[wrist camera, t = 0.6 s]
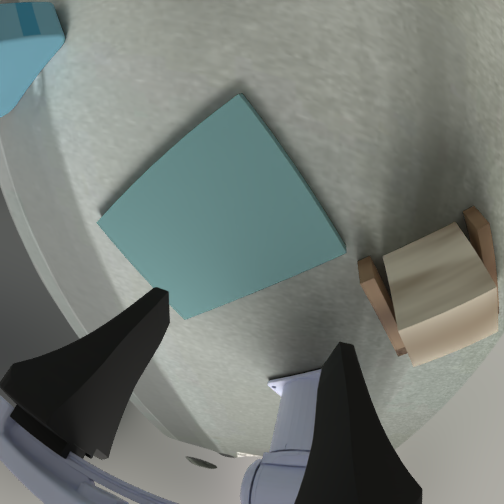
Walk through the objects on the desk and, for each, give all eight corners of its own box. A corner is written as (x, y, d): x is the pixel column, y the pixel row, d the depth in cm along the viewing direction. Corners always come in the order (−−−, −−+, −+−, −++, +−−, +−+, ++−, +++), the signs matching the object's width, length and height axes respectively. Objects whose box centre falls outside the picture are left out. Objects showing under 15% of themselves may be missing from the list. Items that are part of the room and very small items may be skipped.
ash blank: (465, 263, 17) (498, 331, 12) (399, 293, 20) (413, 367, 15) (455, 221, 16) (496, 287, 10) (382, 255, 19) (397, 331, 13)
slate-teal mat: (345, 246, 19) (346, 253, 18) (187, 313, 27) (184, 319, 26) (242, 93, 15) (238, 94, 14) (101, 218, 23) (96, 222, 22)
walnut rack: (489, 293, 18) (498, 313, 16) (395, 334, 23) (398, 356, 21) (473, 205, 15) (489, 223, 13) (357, 261, 20) (360, 283, 18)
